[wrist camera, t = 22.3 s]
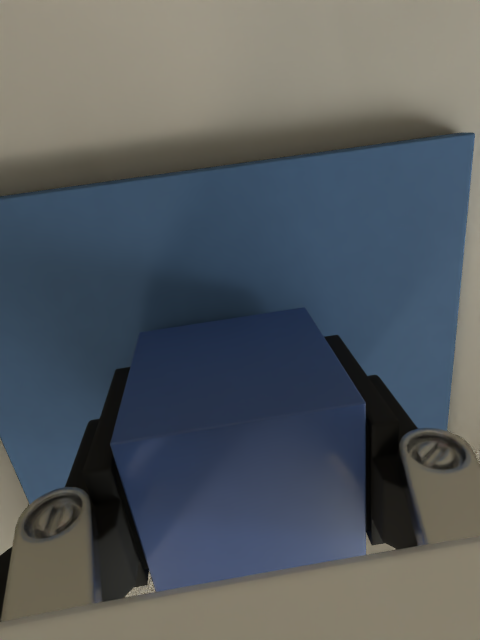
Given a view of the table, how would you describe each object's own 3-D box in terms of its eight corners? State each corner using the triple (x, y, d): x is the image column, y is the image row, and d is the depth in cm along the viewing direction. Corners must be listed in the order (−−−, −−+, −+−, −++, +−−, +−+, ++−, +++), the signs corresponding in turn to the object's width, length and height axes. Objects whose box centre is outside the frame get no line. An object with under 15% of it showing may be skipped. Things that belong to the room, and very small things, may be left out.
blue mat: (58, 544, 16) (52, 559, 15) (-86, 208, 11) (-101, 212, 10) (433, 478, 16) (442, 490, 16) (462, 132, 11) (476, 132, 11)
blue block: (170, 462, 13) (160, 610, 9) (139, 331, 11) (108, 444, 7) (314, 438, 13) (367, 573, 9) (305, 306, 12) (366, 401, 8)
